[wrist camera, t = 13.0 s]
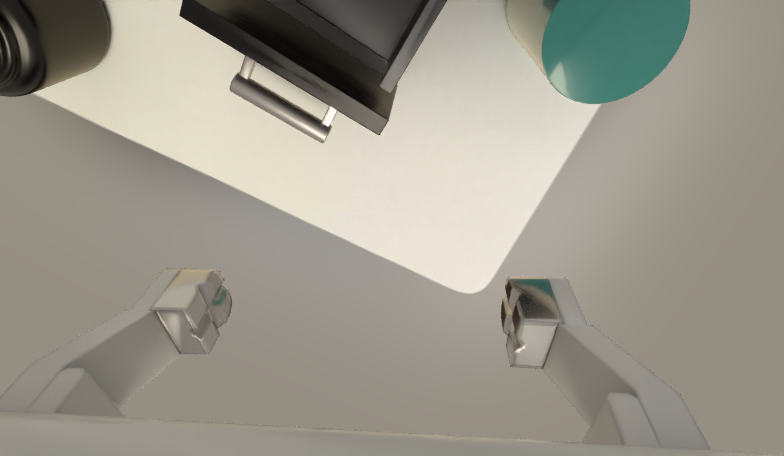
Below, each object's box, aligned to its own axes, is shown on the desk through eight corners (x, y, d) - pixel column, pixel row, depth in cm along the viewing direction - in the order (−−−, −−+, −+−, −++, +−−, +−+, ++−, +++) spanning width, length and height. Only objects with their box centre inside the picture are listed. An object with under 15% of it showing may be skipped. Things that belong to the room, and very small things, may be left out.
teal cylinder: (620, -16, 24) (723, 12, 16) (551, 65, 28) (605, 126, 19) (551, -76, 23) (622, -82, 14) (487, 17, 26) (513, 59, 17)
